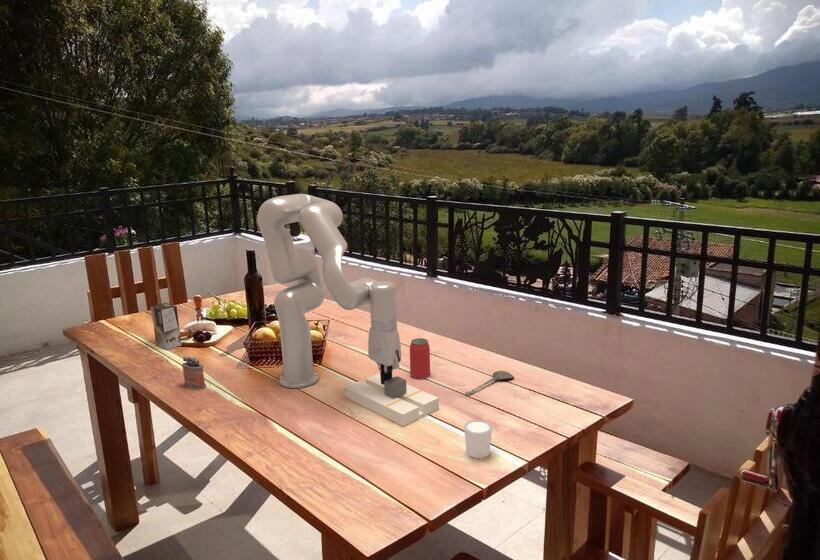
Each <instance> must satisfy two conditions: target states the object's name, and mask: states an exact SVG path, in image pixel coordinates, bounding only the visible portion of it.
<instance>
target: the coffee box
mask: <svg viewBox="0 0 820 560" xmlns="http://www.w3.org/2000/svg"><path fill="white" fill-rule="evenodd" d="M177 307H178V306H176V305H174V304H171V303H168V302H163V303H160V304H155V305H152V306H150V311H151V318H152V319H151V320H152V324H153V331H154V337H155V338H154V339H155V344H156V346H157V345H158V347H160V348H162V349H165V350H167V351H168V350H170V349H174V348H177V346H178V347H181V346H182V345H183V344H182V336H181V331H180V324H179V314H178V308H177Z"/></svg>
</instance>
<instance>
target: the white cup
mask: <svg viewBox="0 0 820 560" xmlns="http://www.w3.org/2000/svg"><path fill="white" fill-rule="evenodd" d="M463 430H464V431H463V432H464V439H465V440H464V441H465V448H466V454H467V456H468V455H469V457H470V456H471V458H472V457H474V458H473V459H477V458H481V459H484V458H483V457H485V458H487V457H489V455H490V450H491V444H492V443H491V440H492V432H493V427H492V425H491V423H489V422H487V421H484V420H470V421H468V422H466V423H465V424H464V427H463ZM486 456H487V457H486Z"/></svg>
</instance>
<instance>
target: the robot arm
mask: <svg viewBox="0 0 820 560" xmlns="http://www.w3.org/2000/svg"><path fill="white" fill-rule="evenodd" d="M343 218H344V217H343V212H342V210H341V208H340V206H338V204H336V203H335V202H333V201H330V200H328V199H324V198H321V197H317V196H314V195H311V194H307V193H296V194H295V193H294V194H288V195H287V194H286V195H280V196H276V197H272V198H269V199H267V200H265V201H264V202H263V203H262V204H261V205H260V207H259V209H258V212H257V224H258V228H259V232H260V233H261V236H262V239H263V241H264V245H265V249H266V254H267V258H268V262H269V266H270V271H271V273H272V276H273V279H274V280H275V282H277V283H279V284H289V283H292V282H295V281H297V284H294V285H290V286H288V287H285V288H283V289H281V290H280V291H279V292H278V293H277V294H276V296H275V297H274V302H273V304H274V309H275V312H276V315H277V320H278V326H279V335H280V336H279V337H280V347H281V357H282V364H281V366H280V370H281V369H282V370H283V374H282V375H281V376H280V377H279V378H278V379H279V384H280V385H281V386H282V387H285V388H288V389H301V388H307V387H309V386H312V385H314V384H316V383H317V382H318V381H319V379H320V376H319V373H318V372H316V371H314V360H313V347H312V345H313V344H312V333H311V326H310V323H309V322H308V320H307V318H306V316H305V314H307V313H308V312H310V311H314V310H316V309H317V308H319V307H320V306H322V304H323V303H324V299H325V292H324V286H323V281H324V285H325V286H326V289H327V290H328V291H329V293H330V295H331V297H332V298H333V300H334V301H335V302H336V304H337V305H338V306H339V307H340V308H342V309H344V310H346V311H352V310H355V309H358V308H361V307H363V306H364V305H367V304H369V314H370V327H369V331H368V341H367V342H368V343H367V344H368V345H367V347H368V348H367V349H368V350H367V352H368V358H369V360H371V361H374V362H375V363H376V364H377V367H378V371H379V373H380V376H381V384H383V385H384V381H385V380H388V379H390V378H393V371H394V370H398V369H400V363H401V360H402V347H401V340H400V339H401V338H400V333H399V329H398V318H397V315H398V312H397V292H396V291H397V289H396V288H397V287H396V284H395V283H393V282H392V281H387V280H383V281H382V280H376V279H373V278H372V277H360V278H358V279H355V280H353V281H350V282H349V280H348V279H347V277H346V275H345V274H344V271H343V268H342V264H341V263H342V258H343V256H344V254H345V252H346V250H347V249H348V242H347V241H346V239H345V238H344V236H343V235H342V233H341V232H340V230H339V227H340V226H341V225H342V222H343ZM297 222H298V223H300V225H301V227H302V228H303V231H305V233H306V234H307V236H308V238H309V239H310V241H311V243H312V244H313V247H314V248H315V249H316V251H317V252H318V254H319V256H320V257H321V259H322V275H323V276H322V277H323V280H322V277H321V273H320V268H319V264H318V261H317V258H316V256H314V254H313V252H312V251H310V250H309V249H306V248H295V244H294V239H293V236H292V235H291V233H290V231H289V230H288V229H287V228H286V227H285V226H286V225H287V224H292V223H297Z"/></svg>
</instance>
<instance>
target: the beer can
mask: <svg viewBox="0 0 820 560" xmlns="http://www.w3.org/2000/svg"><path fill="white" fill-rule="evenodd" d="M430 351H431V349H430V344H429V340H428V339H427V338H426V339H425V338H420V337H419V338H413V339H411V341H410V345H409V366H410V367H409V369H410V371H409V373H410V374H409V375H410V376H411V378H413V379H417V380H418V379H419V380H423V378H424V379H427V378H429V377H430V376H431V352H430Z"/></svg>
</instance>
